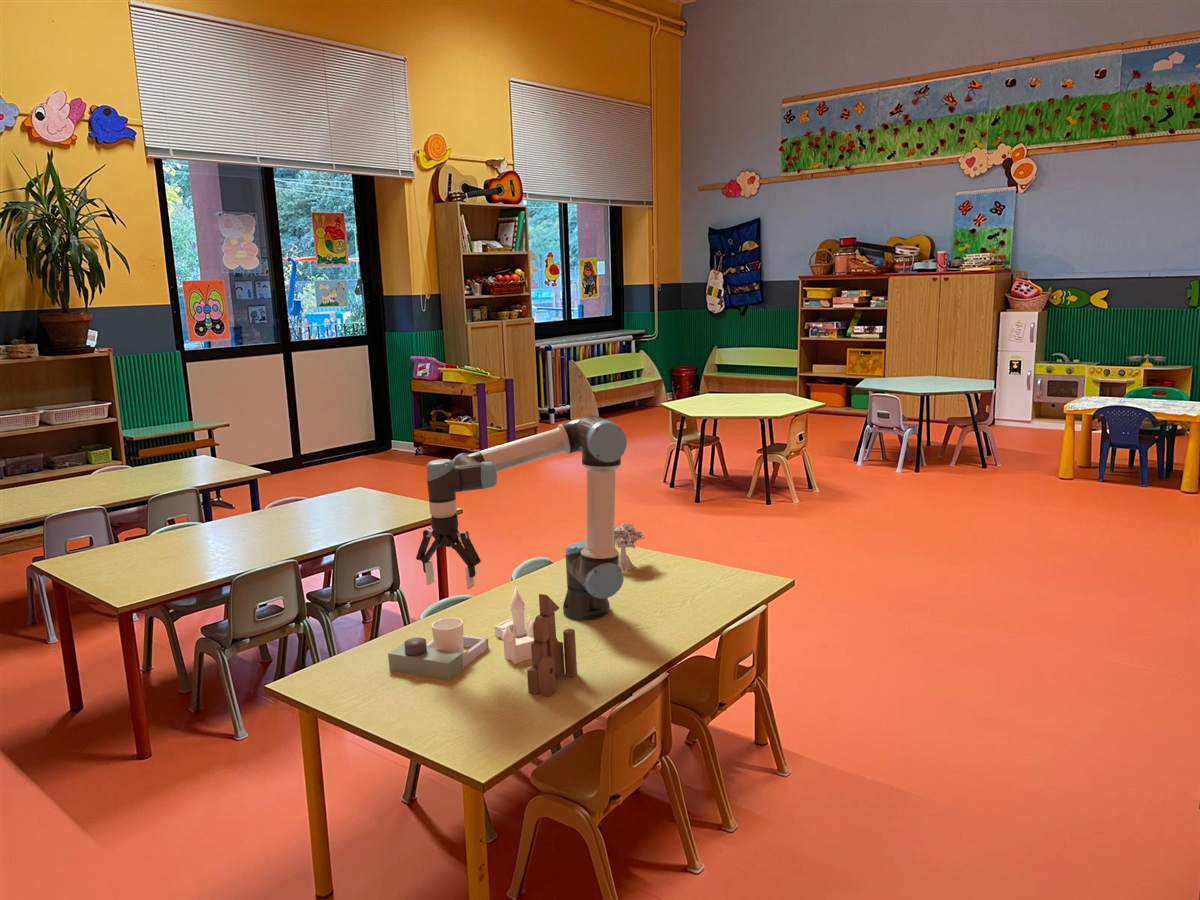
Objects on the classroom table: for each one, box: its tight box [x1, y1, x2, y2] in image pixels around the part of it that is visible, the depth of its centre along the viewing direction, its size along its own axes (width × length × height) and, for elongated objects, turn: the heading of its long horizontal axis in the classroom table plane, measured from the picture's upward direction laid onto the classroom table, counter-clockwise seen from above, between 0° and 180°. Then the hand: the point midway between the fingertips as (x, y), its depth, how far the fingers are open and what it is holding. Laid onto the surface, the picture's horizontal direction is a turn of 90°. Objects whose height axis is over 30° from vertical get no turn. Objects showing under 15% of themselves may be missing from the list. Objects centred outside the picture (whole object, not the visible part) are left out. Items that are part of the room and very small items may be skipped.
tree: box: [614, 522, 646, 572], centre depth 327 cm, size 18×16×17 cm
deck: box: [387, 634, 489, 681], centre depth 255 cm, size 20×22×8 cm
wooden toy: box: [526, 593, 578, 697], centre depth 235 cm, size 15×7×25 cm, turn 152°
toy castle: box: [494, 584, 534, 665], centre depth 262 cm, size 14×25×16 cm, turn 31°
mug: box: [431, 617, 465, 654], centre depth 257 cm, size 11×9×10 cm
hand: (450, 585), depth 255 cm, fingers open, 13 cm apart
